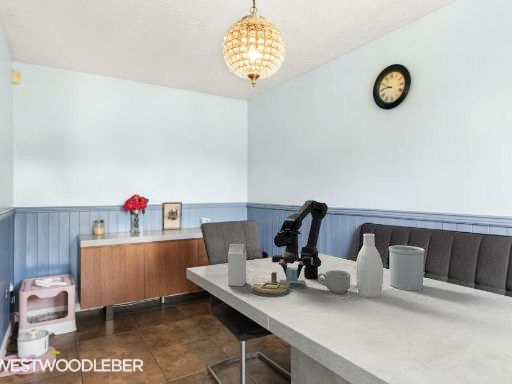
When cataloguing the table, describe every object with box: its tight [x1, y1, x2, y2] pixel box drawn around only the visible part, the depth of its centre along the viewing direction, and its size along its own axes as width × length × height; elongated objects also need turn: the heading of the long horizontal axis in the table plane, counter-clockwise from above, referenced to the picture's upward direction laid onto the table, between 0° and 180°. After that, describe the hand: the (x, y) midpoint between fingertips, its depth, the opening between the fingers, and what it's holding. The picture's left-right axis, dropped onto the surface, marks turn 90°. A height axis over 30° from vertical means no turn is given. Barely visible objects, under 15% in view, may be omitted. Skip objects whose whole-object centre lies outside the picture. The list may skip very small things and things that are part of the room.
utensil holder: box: [388, 245, 426, 291], centre depth 148 cm, size 15×15×18 cm
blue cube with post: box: [285, 266, 300, 281], centre depth 151 cm, size 8×5×5 cm, turn 163°
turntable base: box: [250, 287, 291, 297], centre depth 143 cm, size 17×17×1 cm
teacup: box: [317, 269, 352, 294], centre depth 142 cm, size 14×11×8 cm
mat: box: [279, 279, 307, 289], centre depth 152 cm, size 12×12×1 cm
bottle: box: [355, 233, 384, 299], centre depth 136 cm, size 11×11×25 cm
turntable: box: [251, 271, 288, 294], centre depth 143 cm, size 16×16×5 cm
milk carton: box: [227, 243, 247, 287], centre depth 153 cm, size 7×7×19 cm
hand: (292, 277), depth 152 cm, fingers closed on blue cube with post, 5 cm apart
